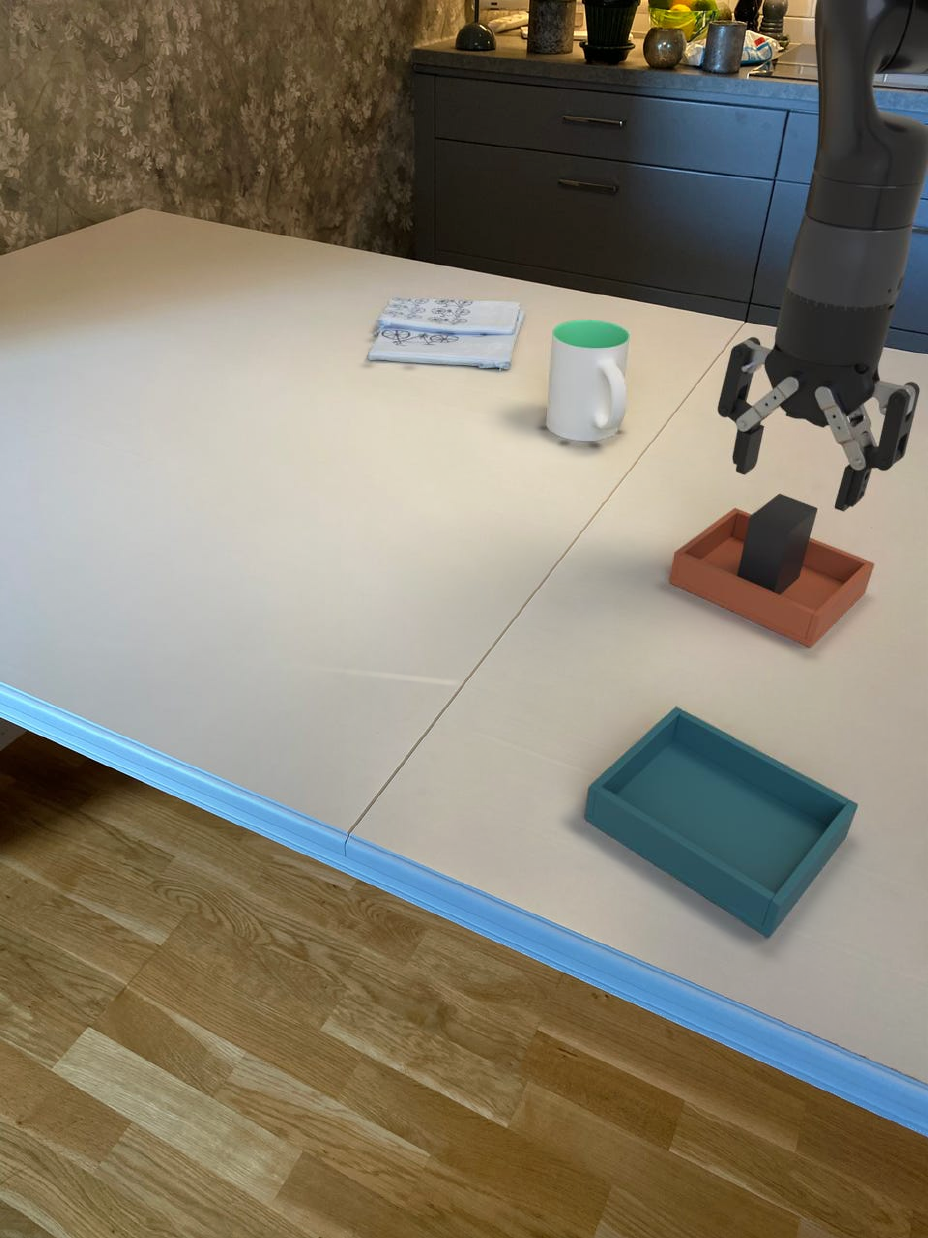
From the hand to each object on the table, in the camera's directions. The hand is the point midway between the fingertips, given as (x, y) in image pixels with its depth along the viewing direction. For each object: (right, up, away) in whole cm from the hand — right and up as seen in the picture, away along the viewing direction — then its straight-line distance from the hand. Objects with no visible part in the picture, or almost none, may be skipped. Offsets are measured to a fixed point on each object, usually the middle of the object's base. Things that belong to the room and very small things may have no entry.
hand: (793, 488), depth 78 cm
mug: (-12, +10, +29) cm, 33 cm away
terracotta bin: (0, -8, +6) cm, 10 cm away
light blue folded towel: (-29, +26, +50) cm, 64 cm away
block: (0, -7, +6) cm, 9 cm away
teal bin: (-10, -24, -15) cm, 30 cm away
